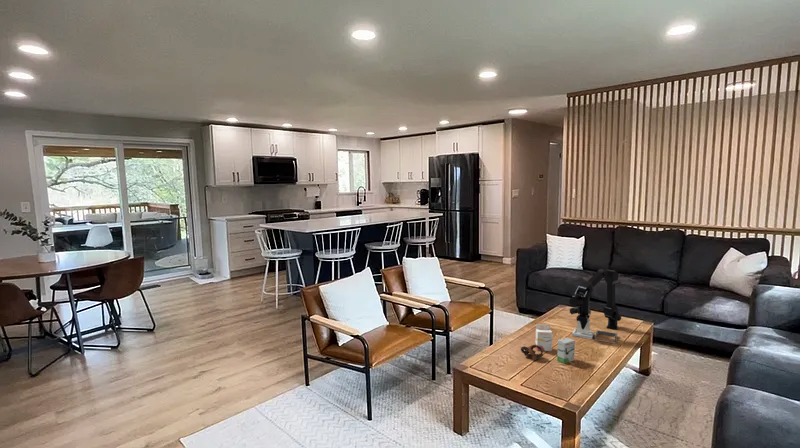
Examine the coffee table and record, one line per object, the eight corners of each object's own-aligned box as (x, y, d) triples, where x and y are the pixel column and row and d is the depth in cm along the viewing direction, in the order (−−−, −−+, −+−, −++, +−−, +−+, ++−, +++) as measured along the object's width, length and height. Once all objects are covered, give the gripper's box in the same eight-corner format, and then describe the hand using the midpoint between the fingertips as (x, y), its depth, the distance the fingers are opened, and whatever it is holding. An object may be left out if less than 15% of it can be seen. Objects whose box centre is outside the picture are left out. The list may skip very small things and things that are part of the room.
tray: (574, 331, 268) (574, 328, 267) (594, 334, 261) (594, 331, 261) (572, 336, 259) (572, 333, 259) (592, 339, 253) (592, 336, 253)
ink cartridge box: (537, 350, 238) (537, 326, 237) (535, 347, 243) (535, 323, 242) (552, 351, 237) (552, 327, 236) (549, 347, 242) (550, 324, 241)
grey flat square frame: (596, 333, 263) (597, 330, 263) (617, 336, 257) (617, 333, 257) (594, 339, 253) (594, 336, 253) (615, 343, 247) (615, 340, 246)
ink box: (564, 363, 221) (564, 343, 220) (556, 360, 226) (557, 340, 224) (574, 360, 225) (575, 339, 224) (567, 357, 230) (568, 336, 228)
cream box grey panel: (578, 329, 264) (578, 316, 263) (589, 331, 260) (590, 318, 259) (576, 332, 260) (577, 319, 259) (588, 334, 256) (589, 321, 255)
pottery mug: (539, 354, 235) (544, 345, 230) (539, 367, 227) (544, 358, 223) (518, 348, 237) (523, 339, 232) (518, 361, 229) (522, 352, 224)
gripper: (573, 298, 270) (572, 321, 272) (568, 306, 255) (567, 330, 256) (591, 301, 264) (590, 324, 266) (587, 309, 249) (586, 333, 250)
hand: (583, 327), depth 260 cm, fingers closed on cream box grey panel, 5 cm apart
